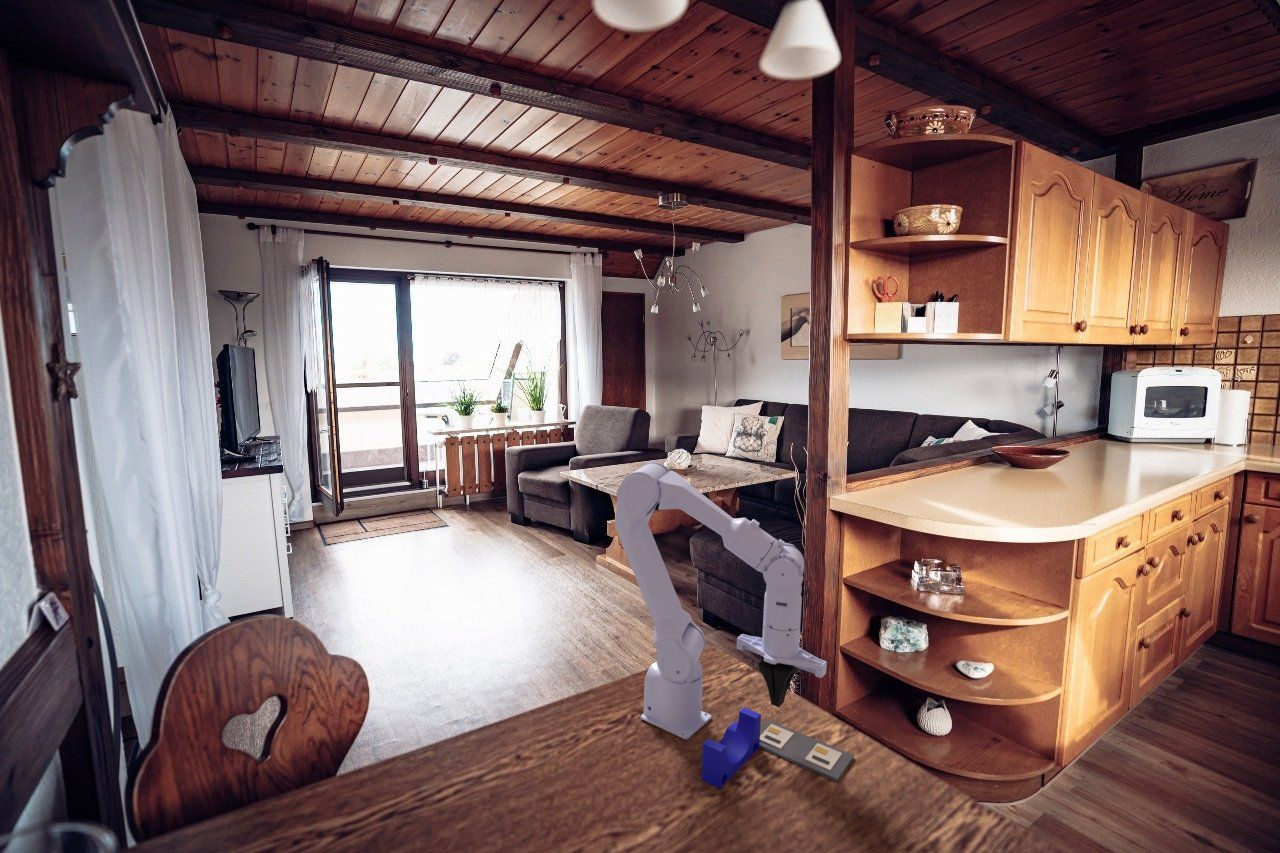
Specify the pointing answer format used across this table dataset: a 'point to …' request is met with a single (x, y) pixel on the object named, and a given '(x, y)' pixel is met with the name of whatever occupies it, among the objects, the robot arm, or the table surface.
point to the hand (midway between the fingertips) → (777, 703)
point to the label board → (804, 750)
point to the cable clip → (731, 749)
